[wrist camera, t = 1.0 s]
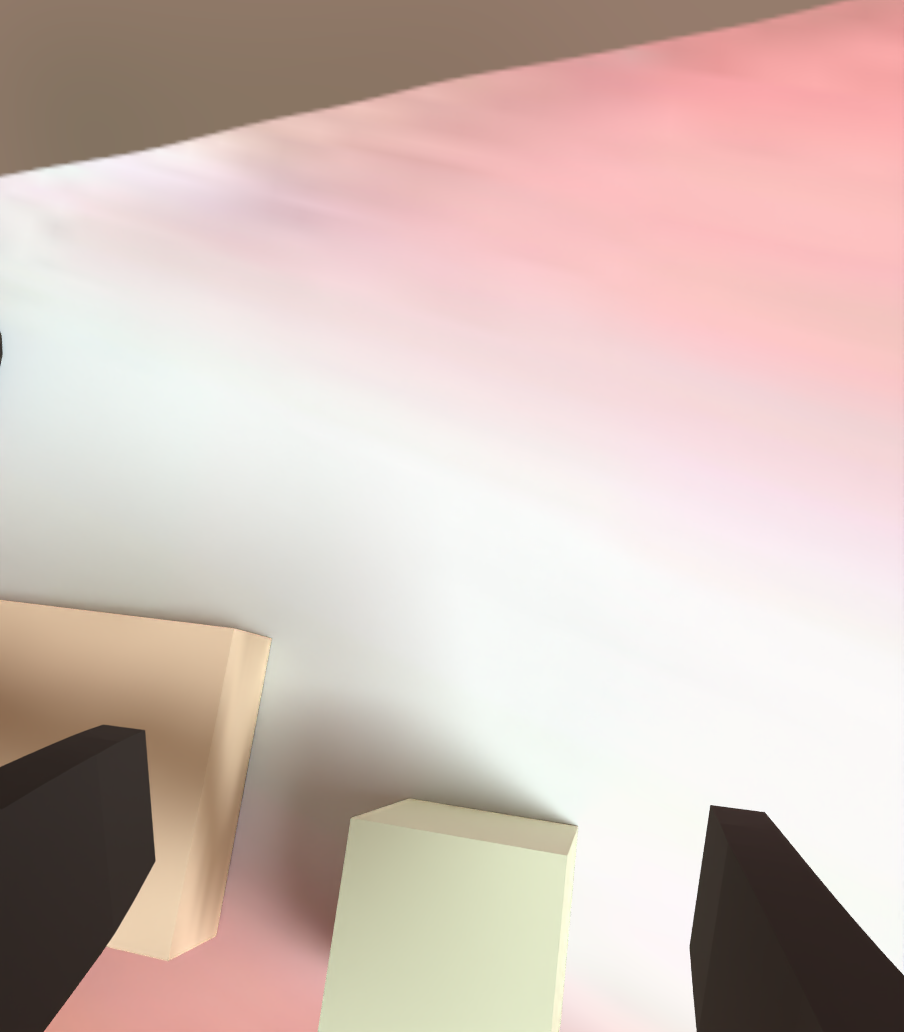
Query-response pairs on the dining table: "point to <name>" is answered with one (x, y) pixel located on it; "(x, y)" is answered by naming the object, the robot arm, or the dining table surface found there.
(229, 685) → the birch slab
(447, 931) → the sage cube
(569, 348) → the dining table surface
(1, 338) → the deodorant
